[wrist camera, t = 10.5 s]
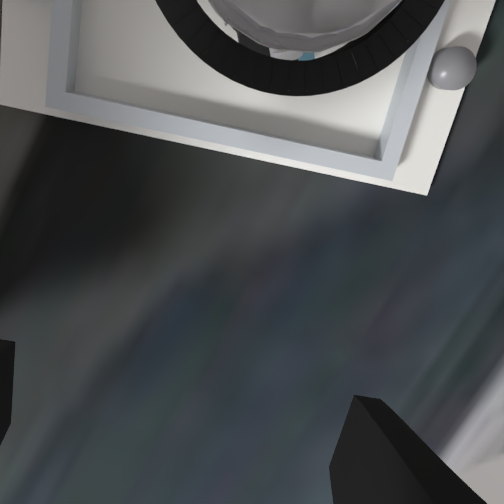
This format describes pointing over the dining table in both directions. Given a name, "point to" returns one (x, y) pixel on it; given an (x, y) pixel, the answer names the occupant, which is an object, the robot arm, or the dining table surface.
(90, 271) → the dining table surface
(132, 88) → the tray
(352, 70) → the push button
